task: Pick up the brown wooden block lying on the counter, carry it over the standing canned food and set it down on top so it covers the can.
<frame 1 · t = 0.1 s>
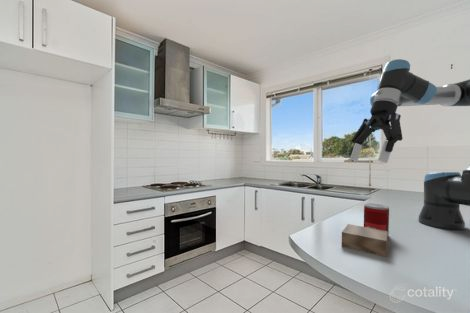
hand: (366, 161, 78), 28 cm above the counter, tool tilted 20°, fingers open, 13 cm apart
canned food: (375, 235, 85), on the counter
brown wooden block: (364, 246, 74), on the counter
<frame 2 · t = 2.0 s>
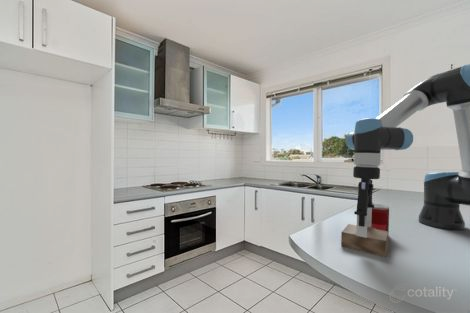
hand: (364, 231, 74), 5 cm above the counter, tool pointing down, fingers open, 13 cm apart
nothing on the counter moved.
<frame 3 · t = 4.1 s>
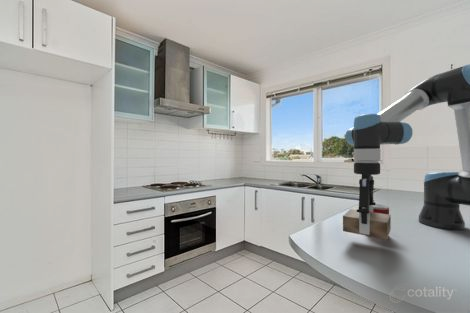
hand: (366, 228, 74), 6 cm above the counter, tool pointing down, fingers closed on brown wooden block, 11 cm apart
brown wooden block: (366, 230, 74), point 5 cm above the counter, touching gripper
everything else where it was.
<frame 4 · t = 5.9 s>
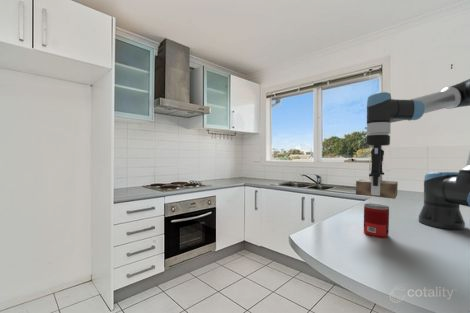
hand: (376, 193, 84), 16 cm above the counter, tool pointing down, fingers closed on brown wooden block, 11 cm apart
brown wooden block: (376, 194, 84), point 15 cm above the counter, touching gripper
everything else where it was.
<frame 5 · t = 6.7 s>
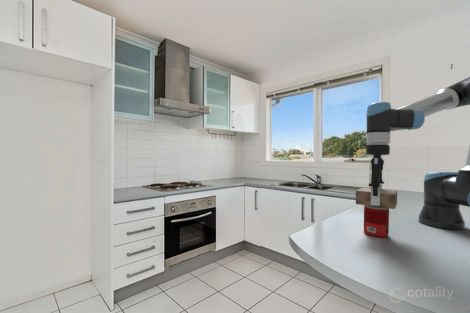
hand: (376, 202, 85), 12 cm above the counter, tool pointing down, fingers closed on brown wooden block, 11 cm apart
brown wooden block: (376, 203, 85), point 12 cm above the counter, touching gripper
everything else where it was.
when the fingers open (12 cm above the counter, at t = 7.6 s): brown wooden block stays where it is, resting on canned food.
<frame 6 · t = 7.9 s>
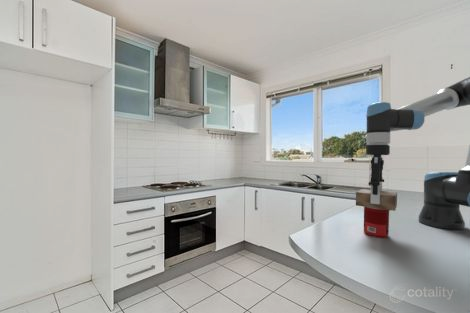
hand: (376, 200, 85), 13 cm above the counter, tool pointing down, fingers open, 13 cm apart
canned food: (375, 235, 85), on the counter, touching brown wooden block
brown wooden block: (376, 205, 85), point 11 cm above the counter, touching canned food
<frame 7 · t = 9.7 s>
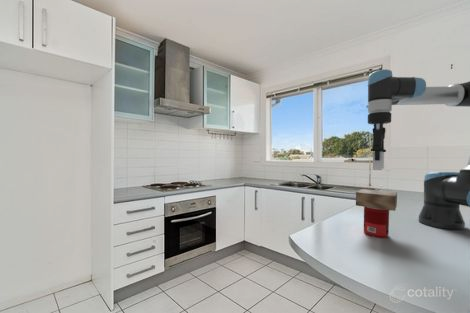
hand: (378, 169, 85), 25 cm above the counter, tool pointing down, fingers open, 13 cm apart
nothing on the counter moved.
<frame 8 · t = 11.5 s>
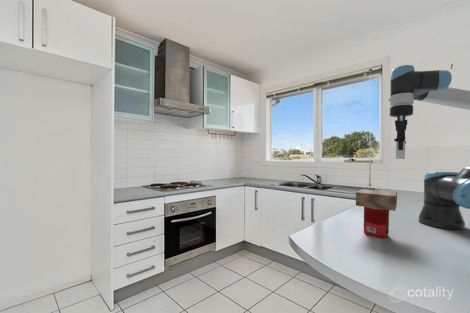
hand: (400, 158, 90), 29 cm above the counter, tool pointing down, fingers open, 13 cm apart
nothing on the counter moved.
at the end: brown wooden block 0.0 cm off-centre on the canned food, point 11.2 cm above the canned food's base; canned food tilted 0°; brown wooden block touching canned food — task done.
